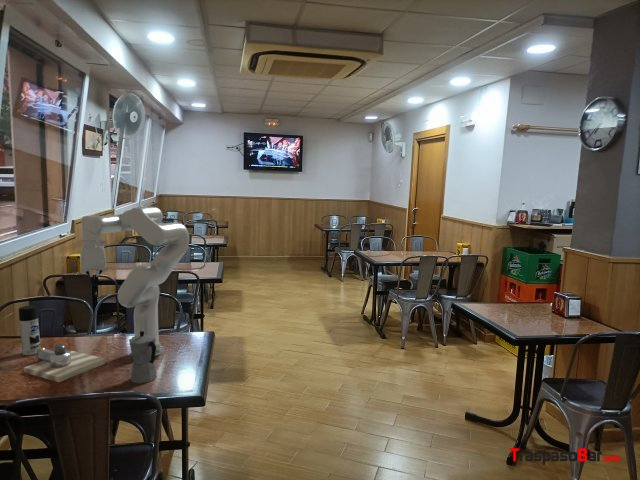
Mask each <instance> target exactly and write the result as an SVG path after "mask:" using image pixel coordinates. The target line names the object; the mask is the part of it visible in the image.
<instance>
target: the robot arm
mask: <svg viewBox="0 0 640 480" xmlns="http://www.w3.org/2000/svg"><path fill="white" fill-rule="evenodd" d="M163 218H164V215H163V211H162V210H161V209H160V208H158V207H156V206H152V205H151V206H148V205H147V206H137V207H133V208H131V209H127V210H125V211H124V212H123V213H121V214H120V213H119V214H112V215H111V214H110V215H109V214H108V215H84V216H82V217H81V233H82V234H81V236H82V247H81V248H80V256H79V257H80V260H79V261H80V263H79V265H80V271H79V272H80V274H85V275H88V276H89V277H90V284H91V285H92V287H95V286H96V287H97V286H98V284H99V276H100V275H101V274H102V273H104V272H107V271H108V266H107V255H106V250H105V246H104V245H105V244H106V240H103V237H102V235H103V234H109V233H110V234H112V233H118V232H119V233H120V232H125V231H135V232H136V233H137V234H138V235H139V236H140V237H141V238H142V239H143V240H145V241H146V242H147V243H148V244H150V245H152V246H155V247H161V246H164V247H162V248H161V249H160V250H159V252H158V253H157V254H156V256H155V257H154V258H153V260H152V261H150V262H148V263H147V262H146V263H144V264H139V265H137V266H135V267H134V268H132V269H131V270H130V272H129V273H128V275H127V277H126V278H125V280H124V281H123V282H122V283H121V285H120V287H119V289H118V291H117V301H118V303H119V304H120V305H121V306H123V307H125V308H133V307H134V309H133V327H134V330H133V331H134V332H133V333H134V336H140V332H141V331H144V335H149V336H154V337H155V345H156V353H155V357H156V356H159V355H161V354H163V352H164V351H165V350H166V349H165V346H162V344H161V343H162V342H161V341H160V339H159V337H160V334H159V333H160V332H159V307H158V306H159V305H158V304H159V299H160V298H159V297H160V286H159V285H161V284H163V283H164V282H166V281H167V279H168V277H169V276H170V274H171V273H172V272H173V270H174V269H175V268H176V266H177V264H178V263H179V262H180V261H181V259H182V258H183V257H184V255H185V253H186V252H187V250H188V248H189V244H190V232H189V230H188V229H187V227H186V226H185V225H184V224H183V223H180V222H165V223H162V222H163ZM93 271H95V274H93Z"/></svg>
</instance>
